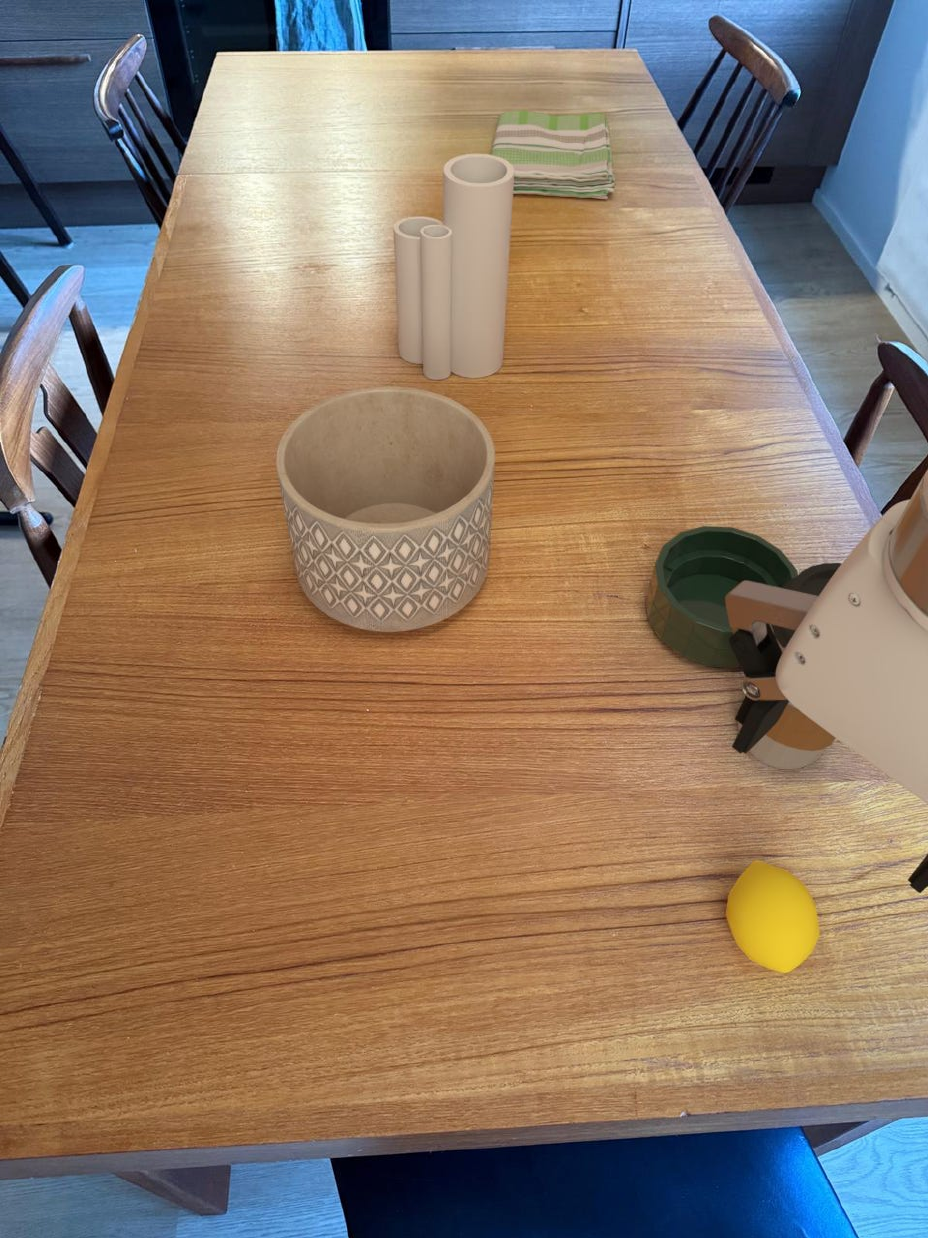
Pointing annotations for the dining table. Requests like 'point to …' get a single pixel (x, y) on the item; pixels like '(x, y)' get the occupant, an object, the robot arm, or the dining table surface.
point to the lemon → (772, 917)
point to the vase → (457, 272)
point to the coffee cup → (795, 732)
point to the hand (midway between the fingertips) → (837, 798)
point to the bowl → (708, 588)
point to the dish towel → (556, 153)
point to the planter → (388, 506)
